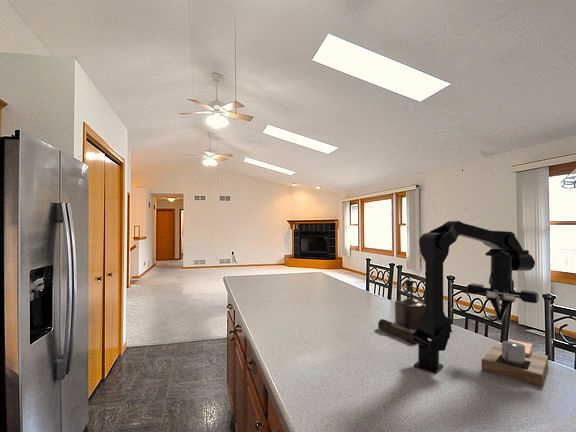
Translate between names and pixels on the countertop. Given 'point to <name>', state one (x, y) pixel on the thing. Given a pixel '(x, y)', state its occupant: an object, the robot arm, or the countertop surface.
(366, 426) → the countertop surface
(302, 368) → the countertop surface
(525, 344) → the pink flat plate
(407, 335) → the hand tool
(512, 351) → the peg
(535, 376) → the hole plate
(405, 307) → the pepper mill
